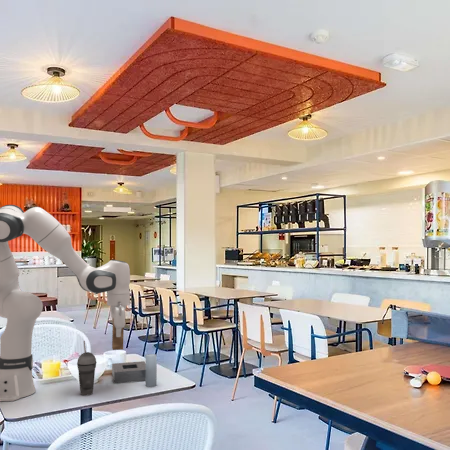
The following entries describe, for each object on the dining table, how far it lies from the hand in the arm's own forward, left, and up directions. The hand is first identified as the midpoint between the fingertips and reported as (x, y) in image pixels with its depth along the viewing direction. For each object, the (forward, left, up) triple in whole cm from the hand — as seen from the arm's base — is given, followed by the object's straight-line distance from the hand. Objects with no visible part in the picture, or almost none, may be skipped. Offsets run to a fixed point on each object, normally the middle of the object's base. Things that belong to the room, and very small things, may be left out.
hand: (117, 335), depth 191 cm
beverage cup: (-12, -4, -21) cm, 24 cm away
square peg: (0, 0, -5) cm, 5 cm away
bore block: (+6, +13, -21) cm, 25 cm away
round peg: (+13, -1, -21) cm, 24 cm away
